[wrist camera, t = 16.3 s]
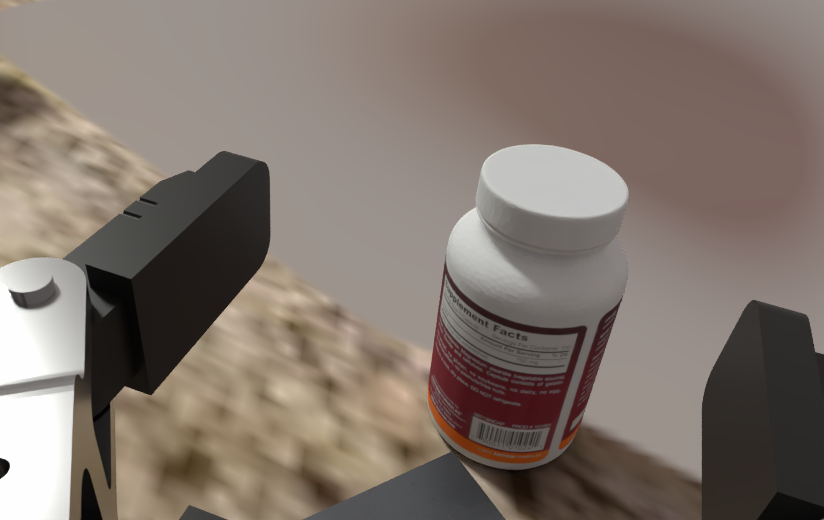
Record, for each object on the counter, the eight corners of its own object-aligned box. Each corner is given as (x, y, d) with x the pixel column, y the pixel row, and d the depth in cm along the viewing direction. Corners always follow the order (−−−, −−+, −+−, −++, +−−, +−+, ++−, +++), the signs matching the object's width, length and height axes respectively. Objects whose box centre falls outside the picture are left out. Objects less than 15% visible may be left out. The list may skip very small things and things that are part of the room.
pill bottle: (510, 342, 32) (562, 120, 26) (608, 436, 28) (699, 202, 22) (394, 390, 29) (421, 152, 23) (486, 503, 25) (549, 255, 19)
